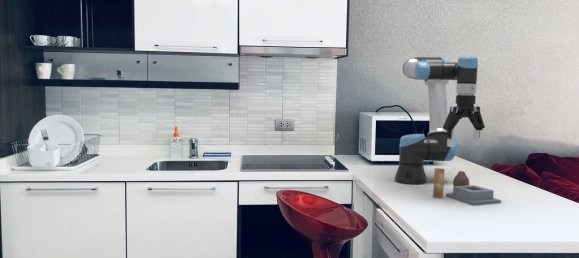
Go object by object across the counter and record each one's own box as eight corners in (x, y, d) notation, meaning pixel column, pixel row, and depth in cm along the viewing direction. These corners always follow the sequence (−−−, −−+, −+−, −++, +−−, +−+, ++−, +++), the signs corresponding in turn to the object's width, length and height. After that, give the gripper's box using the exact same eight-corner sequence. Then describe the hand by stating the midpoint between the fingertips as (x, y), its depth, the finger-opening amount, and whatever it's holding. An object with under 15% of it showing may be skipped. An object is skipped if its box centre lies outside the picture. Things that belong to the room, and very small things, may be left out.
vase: (449, 189, 205) (450, 170, 204) (461, 188, 207) (462, 170, 206) (460, 193, 198) (461, 173, 198) (472, 192, 201) (473, 172, 200)
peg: (431, 196, 191) (432, 168, 190) (438, 195, 193) (440, 168, 191) (437, 198, 187) (438, 170, 186) (445, 197, 189) (446, 169, 188)
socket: (445, 196, 191) (446, 185, 191) (472, 194, 196) (472, 183, 196) (473, 205, 176) (473, 193, 176) (500, 203, 181) (501, 191, 181)
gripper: (448, 94, 175) (445, 148, 177) (495, 95, 185) (492, 146, 187) (435, 94, 182) (432, 146, 184) (481, 94, 192) (478, 143, 194)
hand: (462, 146), depth 185 cm, fingers open, 13 cm apart
